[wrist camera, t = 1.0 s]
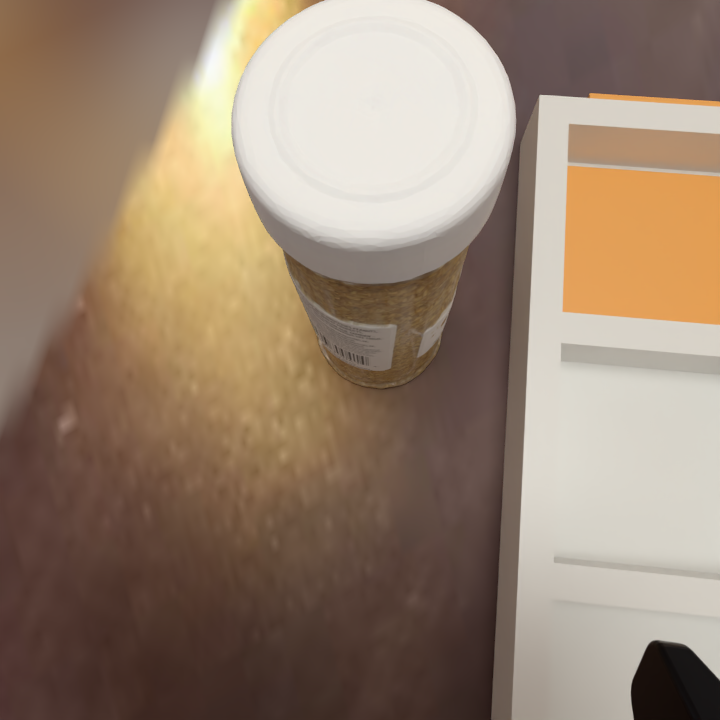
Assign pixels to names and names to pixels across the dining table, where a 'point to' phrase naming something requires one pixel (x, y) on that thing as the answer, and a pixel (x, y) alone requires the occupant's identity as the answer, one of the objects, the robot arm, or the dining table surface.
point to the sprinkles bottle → (374, 170)
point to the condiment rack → (610, 404)
